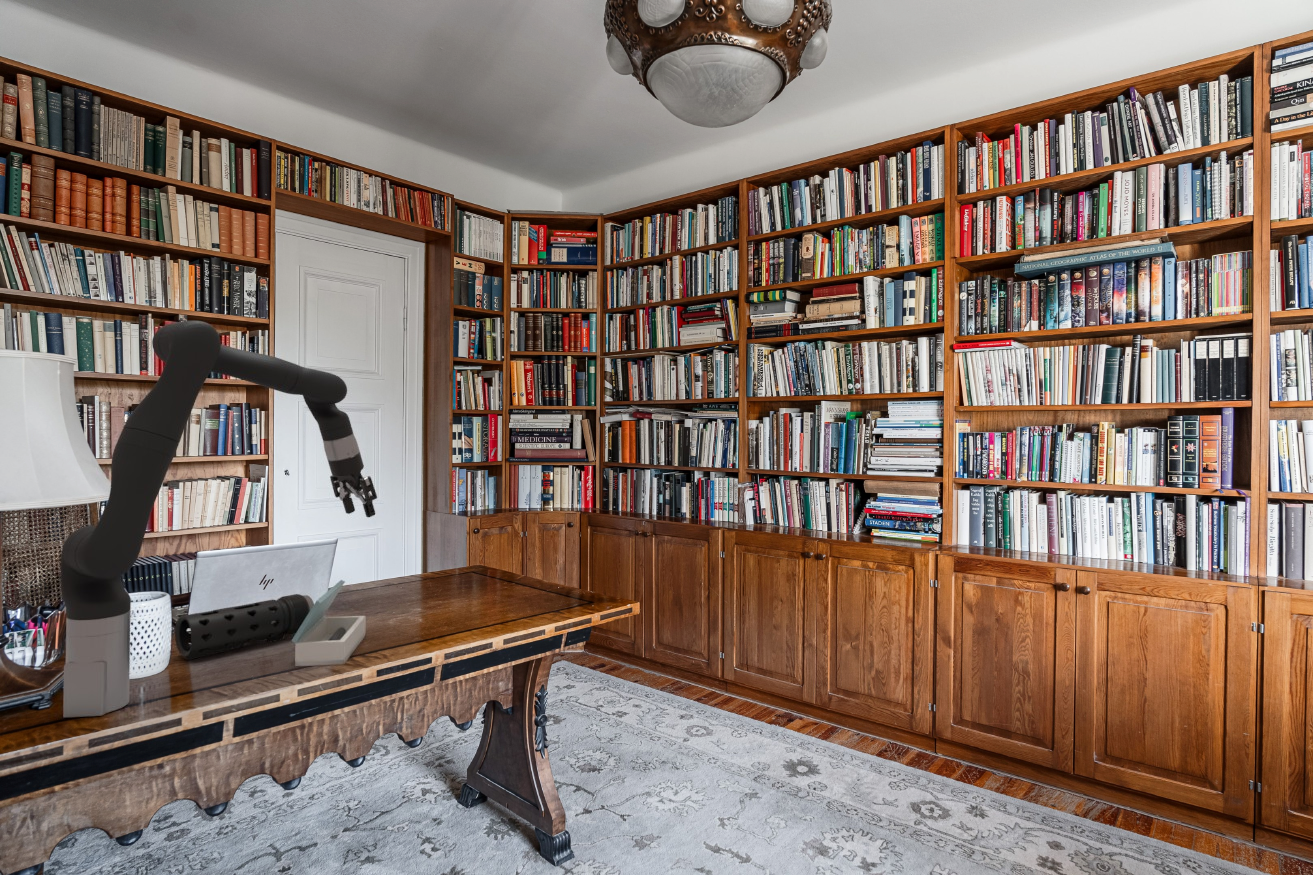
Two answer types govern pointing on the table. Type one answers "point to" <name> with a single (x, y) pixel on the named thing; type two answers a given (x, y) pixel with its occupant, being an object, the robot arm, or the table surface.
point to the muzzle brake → (240, 625)
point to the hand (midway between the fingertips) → (360, 514)
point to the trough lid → (318, 610)
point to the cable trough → (330, 641)
